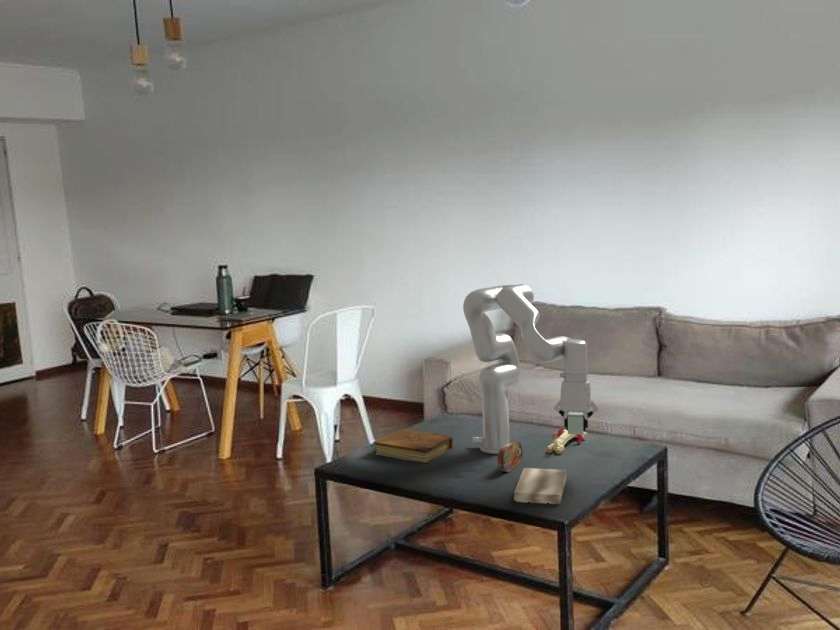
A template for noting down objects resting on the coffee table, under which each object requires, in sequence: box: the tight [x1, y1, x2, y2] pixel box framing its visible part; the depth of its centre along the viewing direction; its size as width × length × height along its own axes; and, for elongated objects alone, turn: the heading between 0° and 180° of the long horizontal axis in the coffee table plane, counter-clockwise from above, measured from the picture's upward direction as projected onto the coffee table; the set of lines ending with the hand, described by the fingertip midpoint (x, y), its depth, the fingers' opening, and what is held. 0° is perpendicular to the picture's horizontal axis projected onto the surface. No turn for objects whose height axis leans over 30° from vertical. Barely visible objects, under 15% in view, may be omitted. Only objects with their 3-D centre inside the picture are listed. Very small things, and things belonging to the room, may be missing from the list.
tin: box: [497, 441, 523, 473], centre depth 282 cm, size 15×3×8 cm, turn 148°
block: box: [568, 411, 585, 436], centre depth 274 cm, size 5×5×6 cm
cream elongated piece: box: [545, 427, 588, 455], centre depth 304 cm, size 10×9×25 cm
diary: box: [373, 428, 454, 464], centre depth 304 cm, size 23×19×6 cm
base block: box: [513, 467, 567, 505], centre depth 261 cm, size 14×22×3 cm, turn 165°
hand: (576, 429), depth 274 cm, fingers closed on block, 5 cm apart
